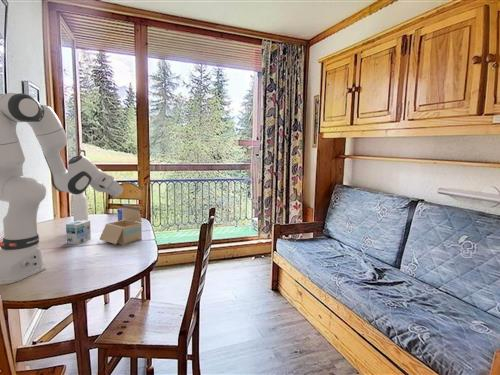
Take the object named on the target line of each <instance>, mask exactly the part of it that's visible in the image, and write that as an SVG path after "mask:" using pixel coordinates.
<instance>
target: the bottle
mask: <svg viewBox="0 0 500 375" xmlns="http://www.w3.org/2000/svg"><path fill="white" fill-rule="evenodd" d="M88 201H89V200H88V197H87V195H86V194H84V192H83V193H81V194H74V196H73V198H72V211H73V212H72V213H73V216H72V218H73V222H75V221H78V220H87V221H89V204H88V203H89V202H88Z"/></svg>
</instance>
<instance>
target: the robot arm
mask: <svg viewBox="0 0 500 375" xmlns="http://www.w3.org/2000/svg"><path fill="white" fill-rule="evenodd" d="M18 123H26V124H28V125H29V126H30V127H31V129H32V131H33V133H34V135H35V137H36V139H37V141H38V143H39V145H40V148H41V151H42V154H43V156H44V159H45V162H46V164H47V167H48V168H49V171H50V174H51V175H50V176H51V185H52V187H53V188H54V190H56V191H57V192H62V193H69V194H73V195H76V194H81V193H83V194H84V192H85V191H86V190H87V188H88V187H91V188H92V190H94V191H96V192H99V193H105V194H108V195H110V196H112V197H113V198H118V197H119V196H120V195H122V193H123V192H124V188H123V187H122V186H121V184H119V183H118V181H117V180H115V177H114V176H112V175H110V174H107V173H105V172H103V170H102V169H100V168H99V167H97V166H96V164H95V163H94V161H92V160H91V159H89V158H88V157H87V156H85V155H81V154H79V155H78V154H77V155H75V156H72V158H70V159H69V160H68V161H67V162H68V163H67V164H68V167H67V168H66V167H65V164H64V160H63V159H62V155H61V152H62V150H63V149H64V148H65V147H66V145H67V144H68V137H67V134H66V131H65V129H64V127H63V124H62V122H61V120H60V118H59V117H58V115H57V114H56V112H55V111H54V110H53V108H52V107H51V106H50V105H49V106H48V105H45V104H41V103H40V102H39V101H38V100H37V99H36V98H35V97H34V96H32V95H30V94H26V93H16V92H14V93H13V92H8V93H2V94H1V93H0V201H2V202H6V203H8V209H7V213H6V215H5V216H4V217H3V219H2V226H3V239H2V240H1V241H0V285H1V286H2V285H10V284H14V283H16V282H18V281H21V280H23V279H25V278H28V277H31V276H33V275H36V274H37V273H40V272H42V271H45V270H47V268H46V266H45V264H44V261H43V255H42V250H41V248H40V246H39V245H40V244H39V243H40V236H39V233H38V222H37V217H38V211H39V208H40V204H41V202H42V201H43V200H44V199H45V198H46V195H47V188H46V186H45V185H44V183H42V182H41V181H39V180H37V179H34V178H33V177H27V176H26V177H25V176H24V173H23V167H24V166H23V165H24V163H25V160H26V158H25V155H24V152H23V148H22V145H21V142H20V139H19V136H18V134H17V125H18Z"/></svg>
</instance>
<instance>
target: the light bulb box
mask: <svg viewBox="0 0 500 375" xmlns="http://www.w3.org/2000/svg"><path fill="white" fill-rule="evenodd" d="M65 230H66V231H65V234H66V235H65V236H66V244H69V245H70V244H71V245H75V246H77V245H80V244H82V243H85V242H88V241H91V238H92V236H91V235H92V234H91V220H88V221H87V220H78V221H75V222H74V221H72V222H68V223H66V224H65Z"/></svg>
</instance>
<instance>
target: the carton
mask: <svg viewBox="0 0 500 375" xmlns="http://www.w3.org/2000/svg"><path fill="white" fill-rule="evenodd" d="M142 228H143V227H142V222H136V221H135V222H134V221H129V220H121V221H118V220H117V221H113V222H108V223H106V224H105V225H104V228H103V230H102V233H101V234H100V237H99V240H101V241H105V242H108V243H112V244H114V245H117V244H119V245H127V244H130V242H131V243H133V241H134V242H137V241H139V239H140V240H143V239H142V238H143V237H142V232H143V231H142ZM136 240H137V241H136Z"/></svg>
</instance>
